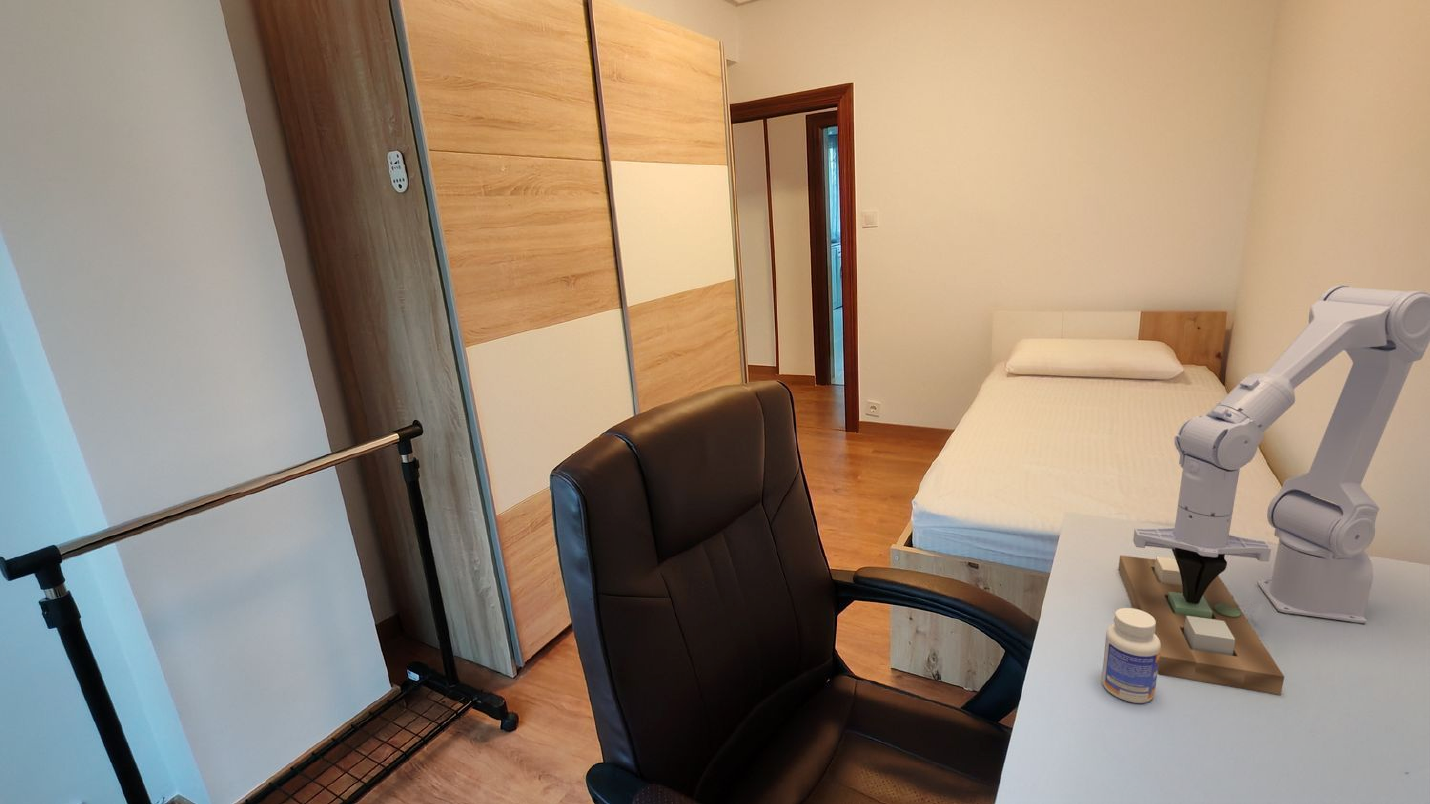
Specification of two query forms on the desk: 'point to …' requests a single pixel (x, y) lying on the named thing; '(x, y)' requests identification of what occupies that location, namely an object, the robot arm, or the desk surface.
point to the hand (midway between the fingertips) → (1190, 599)
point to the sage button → (1188, 606)
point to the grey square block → (1208, 635)
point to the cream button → (1167, 571)
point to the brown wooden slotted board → (1176, 658)
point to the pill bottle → (1131, 656)
